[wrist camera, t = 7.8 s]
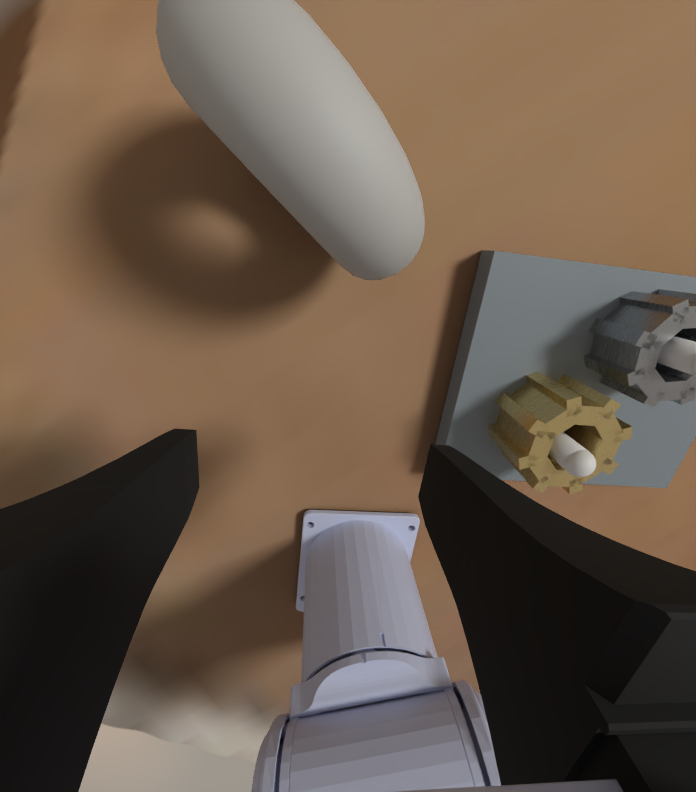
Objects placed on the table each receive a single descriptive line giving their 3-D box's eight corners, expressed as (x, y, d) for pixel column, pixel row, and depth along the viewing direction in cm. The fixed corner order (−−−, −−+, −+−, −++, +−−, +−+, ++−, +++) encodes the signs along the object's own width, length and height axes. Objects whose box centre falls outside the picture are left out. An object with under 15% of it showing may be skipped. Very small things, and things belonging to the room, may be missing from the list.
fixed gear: (664, 380, 21) (717, 401, 18) (576, 388, 20) (617, 410, 18) (693, 286, 18) (759, 293, 16) (596, 293, 18) (646, 302, 15)
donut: (197, 116, 15) (18, -75, 6) (248, 45, 15) (131, -296, 5) (357, 286, 19) (397, 326, 9) (407, 235, 18) (501, 224, 9)
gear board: (647, 474, 25) (744, 541, 20) (430, 462, 23) (467, 533, 18) (746, 284, 20) (914, 300, 15) (481, 250, 18) (555, 252, 13)
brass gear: (562, 459, 22) (604, 495, 19) (478, 454, 22) (507, 491, 18) (596, 376, 20) (649, 401, 17) (504, 368, 19) (541, 392, 16)
